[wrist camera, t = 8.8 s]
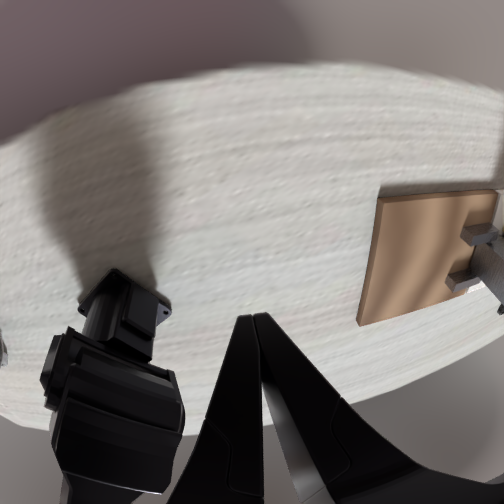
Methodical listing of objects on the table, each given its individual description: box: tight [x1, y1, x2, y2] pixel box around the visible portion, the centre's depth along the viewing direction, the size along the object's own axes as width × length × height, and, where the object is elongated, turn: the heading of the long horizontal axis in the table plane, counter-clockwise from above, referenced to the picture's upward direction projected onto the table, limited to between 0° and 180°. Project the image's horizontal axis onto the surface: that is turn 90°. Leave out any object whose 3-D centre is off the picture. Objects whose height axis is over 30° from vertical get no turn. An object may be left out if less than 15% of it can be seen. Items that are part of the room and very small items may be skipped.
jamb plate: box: [465, 189, 504, 293], centre depth 27 cm, size 9×14×1 cm, turn 4°
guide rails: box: [444, 222, 500, 293], centre depth 25 cm, size 5×7×2 cm
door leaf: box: [356, 189, 499, 327], centre depth 26 cm, size 16×14×1 cm
